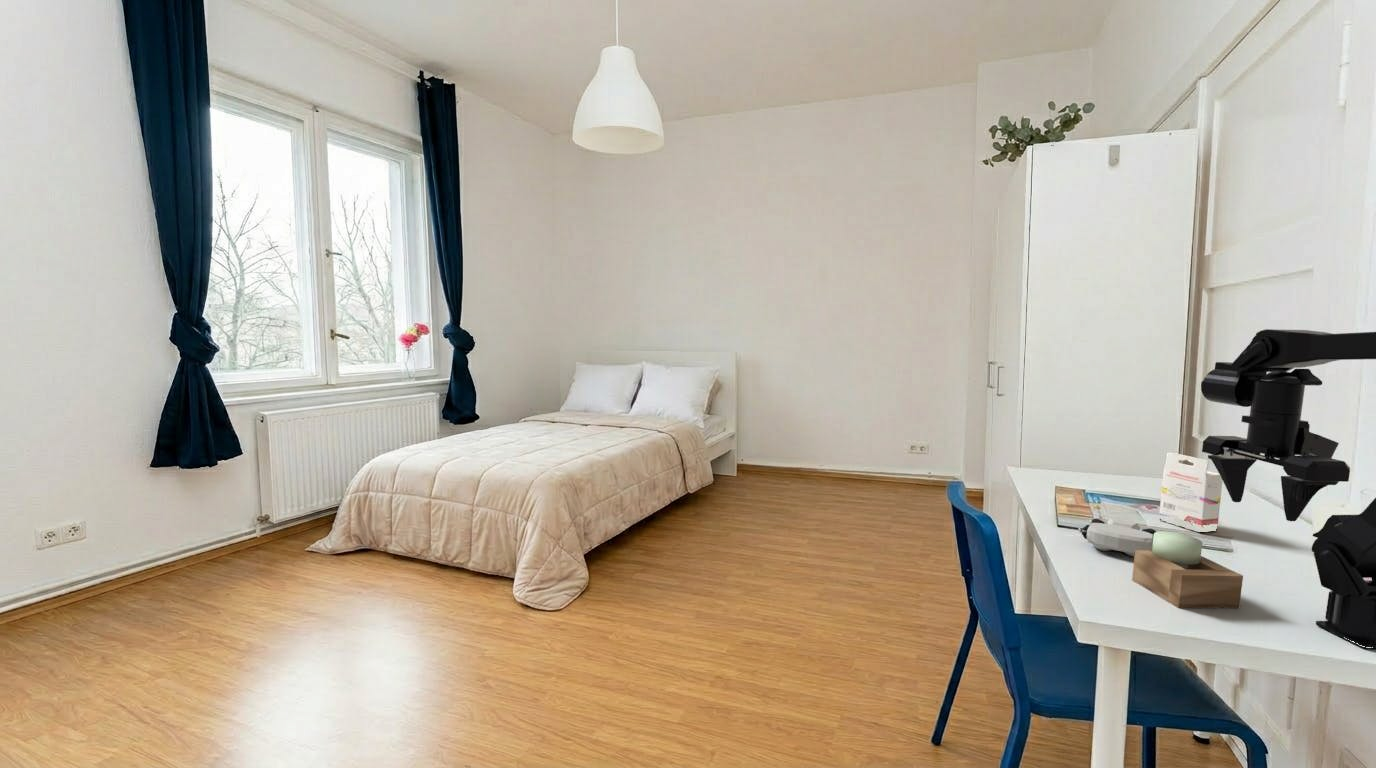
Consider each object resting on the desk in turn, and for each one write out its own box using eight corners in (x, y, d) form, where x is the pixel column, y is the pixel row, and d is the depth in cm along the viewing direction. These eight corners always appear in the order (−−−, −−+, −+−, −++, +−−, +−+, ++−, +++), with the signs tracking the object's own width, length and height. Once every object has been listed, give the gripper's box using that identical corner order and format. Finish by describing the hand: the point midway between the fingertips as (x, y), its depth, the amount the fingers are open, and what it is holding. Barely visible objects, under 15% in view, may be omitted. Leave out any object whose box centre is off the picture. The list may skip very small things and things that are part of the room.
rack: (1239, 608, 92) (1243, 575, 92) (1178, 607, 92) (1182, 575, 92) (1187, 580, 102) (1190, 550, 101) (1132, 580, 102) (1135, 550, 101)
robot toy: (1085, 533, 126) (1075, 550, 114) (1087, 511, 126) (1078, 525, 114) (1161, 548, 118) (1160, 568, 107) (1164, 524, 118) (1163, 541, 106)
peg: (1169, 583, 96) (1173, 545, 95) (1140, 567, 102) (1144, 531, 101) (1208, 583, 96) (1212, 545, 95) (1177, 567, 102) (1181, 531, 101)
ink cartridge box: (1218, 532, 125) (1227, 459, 123) (1200, 534, 124) (1209, 460, 122) (1174, 518, 133) (1181, 450, 132) (1157, 520, 132) (1164, 451, 130)
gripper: (1396, 423, 87) (1379, 532, 89) (1270, 403, 106) (1258, 494, 107) (1316, 422, 87) (1301, 532, 89) (1204, 402, 105) (1194, 493, 107)
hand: (1262, 511), depth 98 cm, fingers open, 9 cm apart
